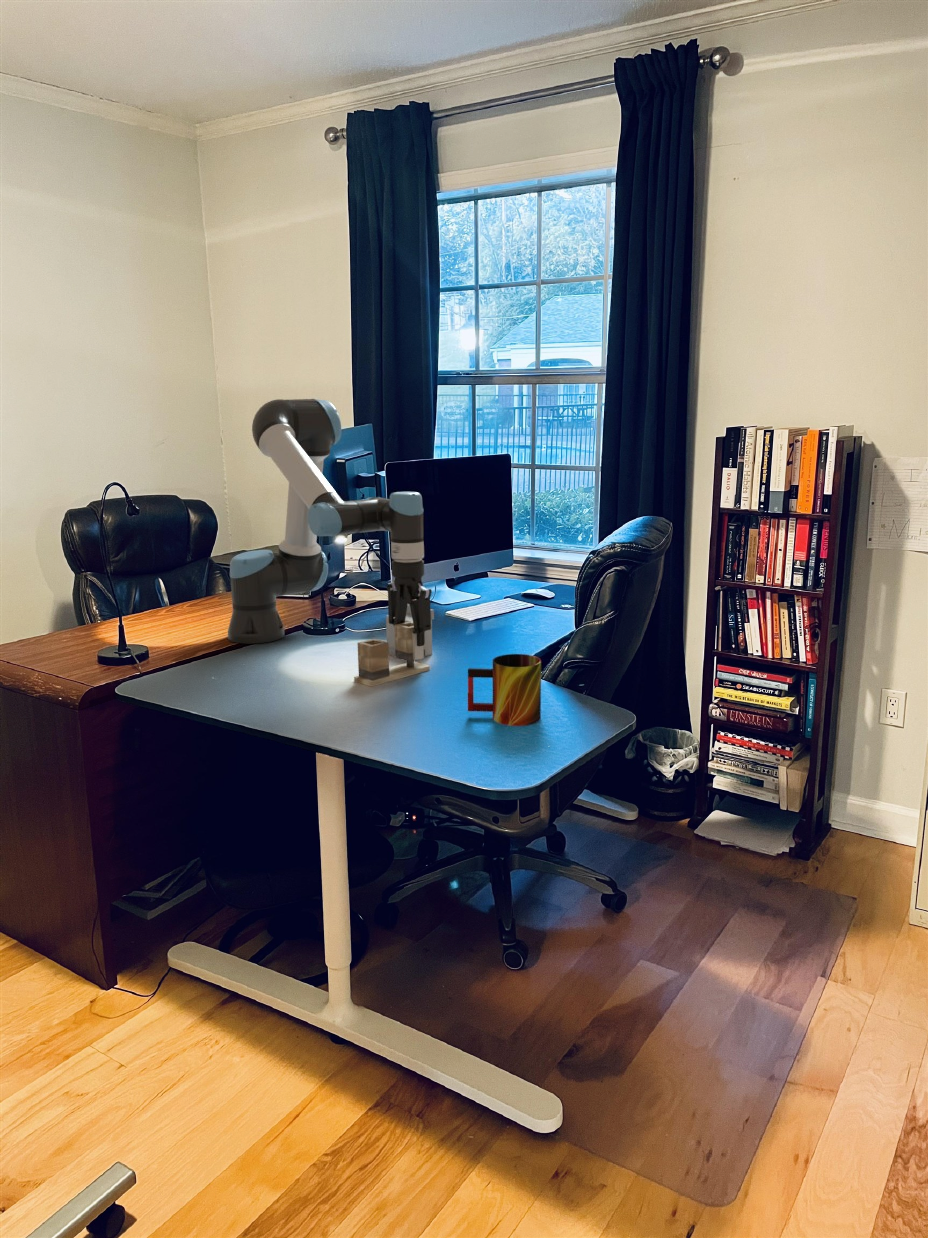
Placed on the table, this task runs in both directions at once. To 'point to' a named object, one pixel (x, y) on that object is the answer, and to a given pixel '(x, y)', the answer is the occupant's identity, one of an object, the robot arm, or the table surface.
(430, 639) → the chute
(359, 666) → the sleeve
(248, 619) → the robot arm
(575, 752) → the table surface
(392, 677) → the pin board
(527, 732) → the table surface
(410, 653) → the sleeve
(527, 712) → the mug
